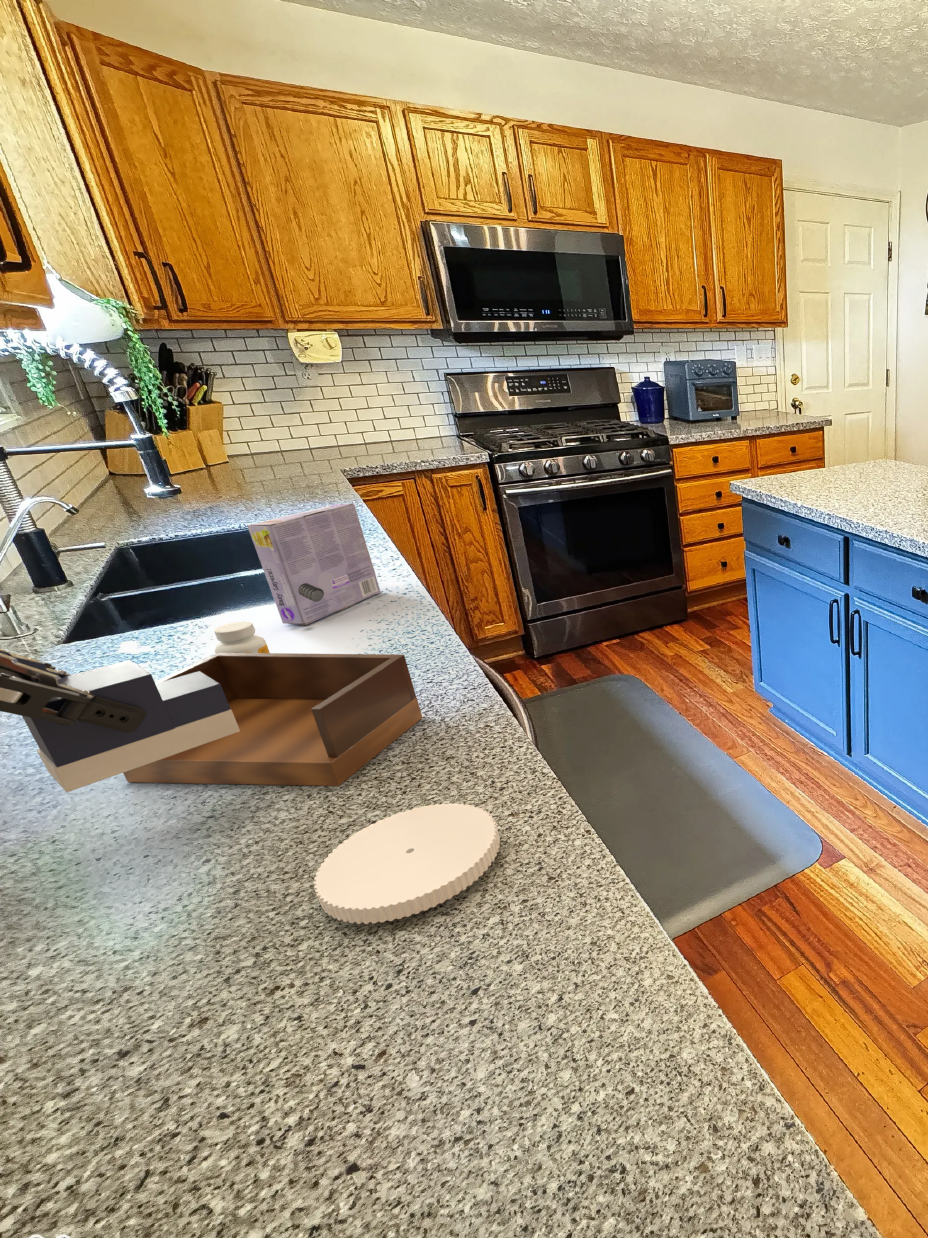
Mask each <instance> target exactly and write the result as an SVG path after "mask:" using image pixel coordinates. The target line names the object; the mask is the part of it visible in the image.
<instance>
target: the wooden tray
mask: <svg viewBox="0 0 928 1238" xmlns="http://www.w3.org/2000/svg"><path fill="white" fill-rule="evenodd" d="M407 663H408V662H407V660H406V657H405V654H391V653H390V654H389V653H387V654H386V653H385V654H383V653H381V654H380V653H378V654H375V653H294V652H293V653H291V652H290V653H289V652H288V653H283V652H281V653H279V652H278V653H277V652H271V653H214V654H212V655H209V656H206V657H205V658H202V659H201V660H198V661H197V662H194V663H192V664H190V665H187V666H185V667H183V668H181V669H179V670H177V671H175V672H173V673H170V674H168V675H166V676H164V677H162V678H159V679H158V680H154V682H155V684H156V683H160V682H163V681H167V680H170V679H174V678H177V677H180V676H184V675H187V674H191V673H194V672H198V671H200V672H202V673H204V674H205V675H207V676H208V677H210V678H212V679H213V680H215V681H217V682H218V683H220V684H221V686H222V689H223V691H224V694H225V696H226V699H227V701H228V704H229V706H230V709H231V710H232V712H233V715H234V717H235V720H236V722H237V725H238V727H239V730H240V731H239V732H237V733H234V734H231V735H228V736H225V737H223V738H220V739H217V740H214V741H211V742H208V743H206V744H203V745H200V746H197V747H194V748H191V749H189V750H186V751H183V752H180V753H177V754H174V755H172V756H169V757H166V758H163V759H160V760H157V761H155V762H152V763H149V764H146V765H143V766H140V767H138V768H135V769H132V770H129V771H126V772H123V773H122V774H123V776H124V778H125V780H126V782H127V783H146V784H147V783H148V784H151V783H152V784H153V783H154V784H155V783H157V784H202V785H203V784H206V785H207V784H209V785H212V784H213V785H263V786H265V785H266V786H267V785H268V786H269V785H271V786H318V787H319V786H320V787H321V786H324V787H326V786H327V787H329V786H330V787H337V786H338V787H339V786H340V785H342V784H343V783H345V782H346V781H347V780H348V779H349V778H351V776H353V775H354V774H355V773H357V772H358V771H359V770H360V769H362V768H363V767H365V765H366V764H368V763H369V762H370V761H372V760H373V759H374V758H375V757H376V756H378V755H379V754H381V752H383V751H384V750H385V749H386V748H387V747H389V746H390V745H391V744H392V743H394V742H395V741H396V740H397V739H399V738H400V737H401V736H402V735H403V734H405V733H406V732H407V731H409V730H410V729H411V728H412V727H413V726H414V725H416V724H417V723H418V722H419V721H420V720H422V719H423V715H422V714H423V713H422V711H421V708H420V705H419V700H418V697H417V694H416V690H415V688H414V684H413V681H412V677H411V674H410V670H409V666H408V664H407Z"/></svg>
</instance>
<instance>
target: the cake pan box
mask: <svg viewBox="0 0 928 1238" xmlns="http://www.w3.org/2000/svg"><path fill="white" fill-rule="evenodd" d="M247 530H248V532H249V535H250V537H251V540H252V543H253V545H254V549H255V551H256V554H257V556H258V559H259V562H260V565H261V568H262V570H263V573H264V576H265V578H266V581H267V584H268V586H269V589H270V592H271V595H272V597H273V600H274V602H275V605H276V606H275V607H276V609H277V611H278V614H279V617H280V619H281V622H282V624H286V625H298V626H307V625H309V624H312V623H314V622H317V621H318V620H321V619H323V618H325V617H328V616H331V615H332V614H334V613H338V612H341V611H343V610H345V609H347V608H350V607H352V606H355V604H357V603H359V602H362V601H364V600H366V599H368V598H372V597H373V596H375V595H378V594H380V593H381V589H380V585H379V582H378V578H377V574H376V571H375V568H374V565H373V561H372V558H371V556H370V553H369V548H368V545H367V542H366V538H365V535H364V532H363V529H362V524H361V522H360V518H359V515H358V511H357V508H356V504H354V502H352V503H350V502H349V503H338V504H331V505H326V506H322V507H318V508H315V509H314V508H313V509H310V510H306V511H301V512H297V513H293V514H292V513H291V514H287V515H284V516H280V517H276V518H272V519H268V520H263V521H259V522H255V523H251V524H247Z"/></svg>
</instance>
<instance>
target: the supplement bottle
mask: <svg viewBox="0 0 928 1238" xmlns="http://www.w3.org/2000/svg"><path fill="white" fill-rule="evenodd" d="M213 633H214V636H215V639H217V641H219V643H218V644H217V645H216V646H215V648H214V654H216V653H270V649H269V647H268V644H267V641H266V639H264V637H262V636H260V635H257V634H256V628H255V626H254V624H253V622H252V621H247V620H246V621H243V620H242V621H235V622H230V623H225V624H222V625H220V626H217V627H215V629H214V630H213Z"/></svg>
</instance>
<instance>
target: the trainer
mask: <svg viewBox="0 0 928 1238" xmlns="http://www.w3.org/2000/svg"><path fill="white" fill-rule="evenodd" d="M61 680H62V683H63V684H64V685H67V686H70V687H74V688H77V689H80V690H87V691H90V692H91V693H92V694H94V695H97V696H100V697H104V698H108V699H111V700H115V701H119V702H122V703H126V704H130V705H133V706H137V707H140V708H142V709H144V710H145V711H146V713H147V715H146V717H145V718H144V719H143V721H142V722H141V723H140V725H139V726H138V728H137V729H136V730H135V731H133V732H123V731H119V730H115V729H111V728H107V727H103V726H99V725H94V724H90V723H86V722H82V721H78V720H77V721H76V722H74V723H73V725H72V726H69V725H65V726H64V725H60V724H57V723H54V722H49V721H45V720H40V719H35V718H31V717H26V716H21V717H22V719H23V721H24V722H25V724H26V726H27V729H28V730H29V732H30V734H31V736H32V738H33V739H34V741H35V743H36V745H37V747H38V748H36V752H37V754H38V755H39V758H40V760H41V761H42V763H43V765H44V767H45V768H46V770H47V772H48V773H49V774H50V776H51V777H52V778H53V779H54V780H55V782H57V784H59V787H61V788H62V789H63V790H64V791H65V793H69V792H72V791H75V790H78V789H81V788H83V787H86V786H89V785H92V784H94V783H97V782H101V781H104V780H106V779H110V778H112V777H114V776H117V775H120V774H123V772H126V771H129V770H132V769H135V768H138V767H140V766H143V765H146V764H149V763H152V762H155V761H157V760H160V759H163V758H166V757H169V756H172V755H174V754H177V753H180V752H183V751H186V750H189V749H191V748H194V747H197V746H200V745H203V744H206V743H208V742H211V741H214V740H217V739H220V738H223V737H225V736H228V735H231V734H234V733H237V732H239V731H240V730H239V727H238V725H237V722H236V720H235V717H234V715H233V712H232V710H231V709H230V706H229V704H228V701H227V699H226V696H225V694H224V691H223V689H222V686H221V684H220V683H218V682H217V681H215V680H213V679H212V678H210V677H208V676H207V675H205V674H204V673H202V672H200V671H198V672H194V673H191V674H187V675H184V676H180V677H177V678H174V679H170V680H167V681H163V682H160V683H156V684H155V680H154V677H153V676H152V674H151V673H150V672H149V671H147V670H146V669H144V668H143V667H141V666H140V665H139V664H137V663H136V662H134V661H133V660H131V659H127V660H124V661H119V662H116V663H112V664H107V665H104V666H101V667H97V668H93V669H89V670H85V671H82V672H78V673H73V674H70V676H66V677H62V678H61ZM39 684H40V683H39ZM66 701H67V699H64V698H60V697H53V698H51V699H50V700H49V701H48V703H47V704H46V705H45V706H47V707H51V708H55V709H59V710H60V708H61V707H62V706H63V704H64V703H65V702H66Z"/></svg>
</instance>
